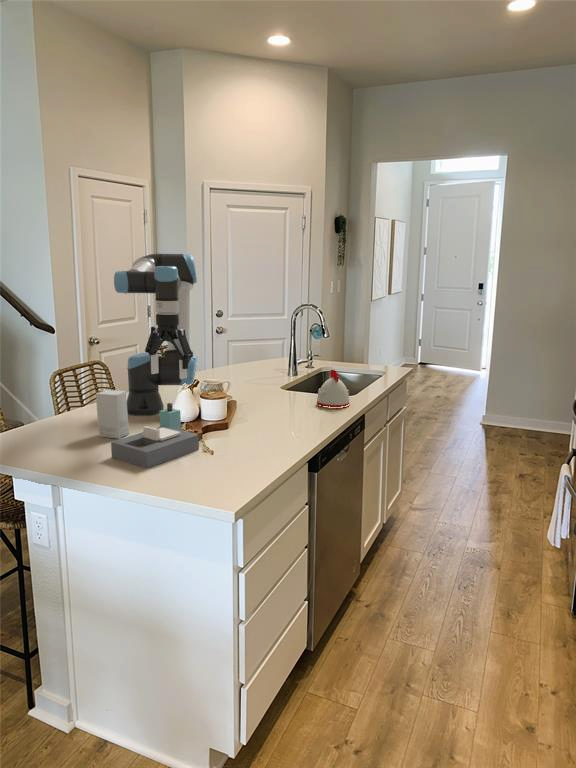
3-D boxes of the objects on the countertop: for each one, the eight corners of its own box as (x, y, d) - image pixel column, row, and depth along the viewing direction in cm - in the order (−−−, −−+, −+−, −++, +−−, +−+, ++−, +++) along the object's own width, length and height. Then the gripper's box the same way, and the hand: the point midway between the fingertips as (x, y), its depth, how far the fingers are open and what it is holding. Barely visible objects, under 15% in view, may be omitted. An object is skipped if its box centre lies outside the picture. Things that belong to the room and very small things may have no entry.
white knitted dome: (341, 399, 259) (342, 366, 256) (354, 407, 247) (356, 372, 243) (312, 401, 255) (313, 367, 252) (324, 409, 242) (325, 374, 239)
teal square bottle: (160, 436, 203) (159, 403, 201) (170, 432, 207) (169, 401, 205) (170, 438, 201) (169, 406, 198) (180, 435, 205) (180, 403, 202)
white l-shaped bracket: (141, 436, 185) (140, 426, 184) (162, 429, 192) (162, 419, 192) (159, 441, 180) (159, 430, 180) (181, 434, 188) (180, 424, 187)
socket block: (111, 457, 181) (110, 441, 180) (164, 440, 199) (163, 425, 198) (147, 468, 172) (146, 452, 171) (198, 449, 190) (198, 434, 189)
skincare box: (129, 434, 205) (127, 390, 201) (118, 439, 199) (116, 395, 195) (109, 431, 207) (107, 388, 204) (97, 436, 201) (95, 392, 198)
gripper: (133, 311, 199) (135, 373, 203) (186, 316, 185) (187, 382, 189) (149, 310, 205) (151, 370, 209) (202, 315, 191) (203, 378, 196)
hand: (168, 376), depth 199 cm, fingers open, 13 cm apart
